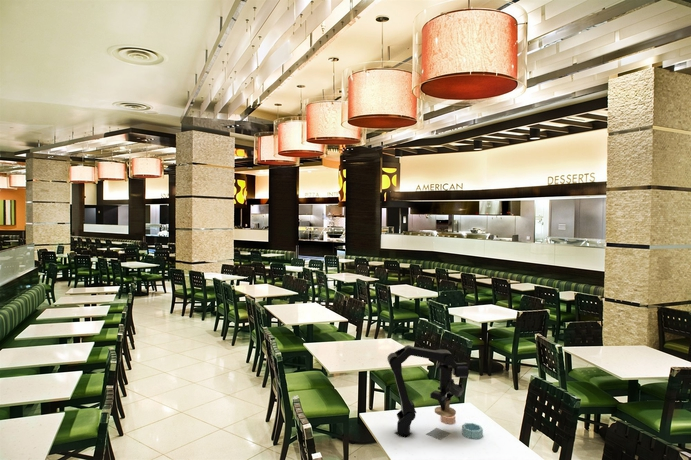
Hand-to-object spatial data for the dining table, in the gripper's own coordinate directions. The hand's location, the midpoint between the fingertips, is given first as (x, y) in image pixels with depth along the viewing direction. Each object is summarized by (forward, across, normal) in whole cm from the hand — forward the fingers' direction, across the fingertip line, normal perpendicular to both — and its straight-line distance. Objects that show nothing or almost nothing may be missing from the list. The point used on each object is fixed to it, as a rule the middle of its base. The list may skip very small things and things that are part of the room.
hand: (445, 409), depth 222 cm
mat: (+12, -2, +2) cm, 13 cm away
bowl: (+12, +9, -10) cm, 18 cm away
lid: (+1, 0, 0) cm, 1 cm away
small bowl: (+12, +14, +6) cm, 20 cm away
